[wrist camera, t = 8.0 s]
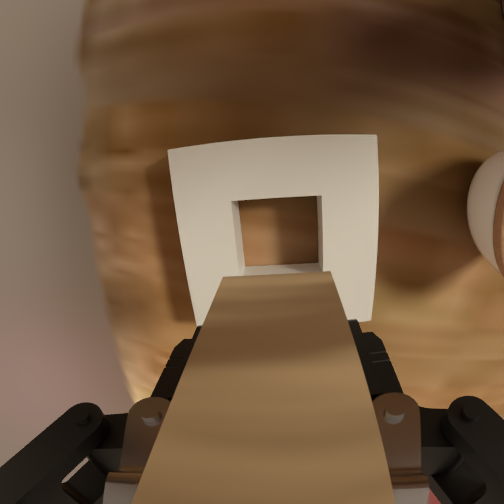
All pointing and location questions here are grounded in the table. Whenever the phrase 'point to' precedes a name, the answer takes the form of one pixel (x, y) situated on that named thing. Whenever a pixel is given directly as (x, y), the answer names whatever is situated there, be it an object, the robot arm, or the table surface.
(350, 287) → the socket block
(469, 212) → the lidded jar
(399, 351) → the table surface
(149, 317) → the table surface
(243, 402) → the peg
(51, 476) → the robot arm
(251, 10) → the table surface
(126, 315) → the table surface
